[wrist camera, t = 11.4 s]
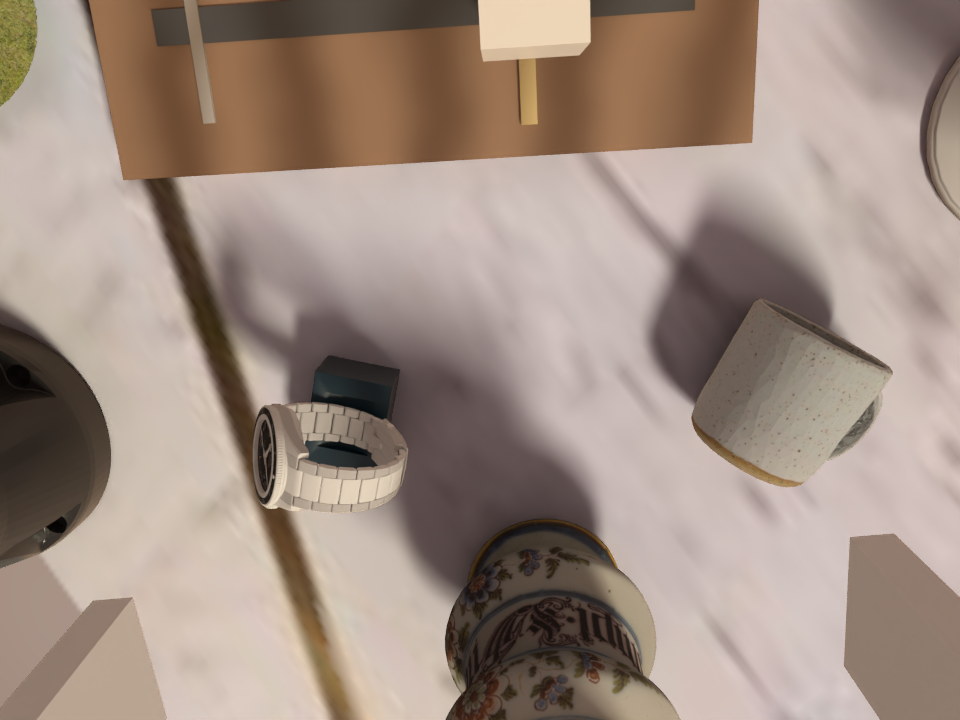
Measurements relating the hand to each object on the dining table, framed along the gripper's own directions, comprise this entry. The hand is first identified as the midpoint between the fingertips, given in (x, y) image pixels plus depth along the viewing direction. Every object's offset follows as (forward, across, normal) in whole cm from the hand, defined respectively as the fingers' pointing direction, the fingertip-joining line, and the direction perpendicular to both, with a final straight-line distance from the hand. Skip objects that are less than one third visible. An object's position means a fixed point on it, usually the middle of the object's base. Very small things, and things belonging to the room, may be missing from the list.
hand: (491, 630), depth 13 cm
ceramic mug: (+29, +16, -6) cm, 34 cm away
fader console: (+30, -2, +15) cm, 33 cm away
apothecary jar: (+30, +2, -19) cm, 35 cm away
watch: (+30, -9, -6) cm, 32 cm away
